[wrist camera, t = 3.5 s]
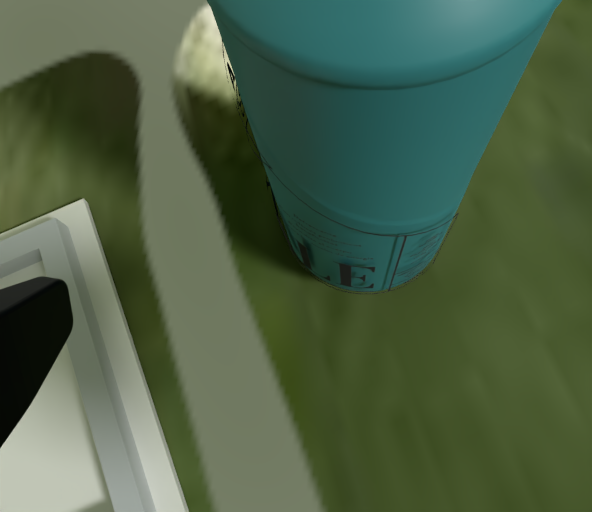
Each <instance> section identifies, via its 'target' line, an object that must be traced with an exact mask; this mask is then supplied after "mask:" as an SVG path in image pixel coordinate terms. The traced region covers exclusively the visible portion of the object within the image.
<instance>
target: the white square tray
mask: <svg viewBox="0 0 592 512" xmlns="http://www.w3.org/2000/svg"><path fill="white" fill-rule="evenodd" d="M40 276H44V277H51V278H57V279H62V280H63V281H65V282H66V284H67V286H68V290H69V296H70V302H71V307H72V313H73V328H72V331H71V334H70V336H69V337H68V339H67V341H66V343H65V345H64V346H63V348H62V350H61V352H60V354H59V355H58V357H57V359H56V361H55V363H54V364H53V366H52V368H51V370H50V371H49V373H48V375H47V377H46V379H45V380H44V382H43V384H42V386H41V388H40V389H39V391H38V393H37V395H36V396H35V398H34V400H33V401H32V403H31V405H30V406H29V408H28V409H27V411H26V412H25V414H24V415H23V417H22V418H21V420H20V421H19V423H18V424H17V425H16V427H15V428H14V430H13V431H12V433H11V434H10V435H9V437H8V438H7V440H6V441H5V442H4V444H3V445H2V447H1V448H0V512H189V510H188V507H187V504H186V501H185V498H184V495H183V492H182V489H181V486H180V483H179V480H178V477H177V474H176V471H175V468H174V465H173V461H172V458H171V455H170V452H169V449H168V446H167V443H166V440H165V437H164V434H163V431H162V428H161V425H160V422H159V419H158V416H157V413H156V410H155V407H154V404H153V400H152V397H151V394H150V391H149V388H148V385H147V382H146V379H145V376H144V373H143V370H142V367H141V364H140V361H139V358H138V355H137V352H136V349H135V346H134V343H133V339H132V336H131V333H130V330H129V327H128V324H127V321H126V318H125V315H124V312H123V309H122V306H121V303H120V300H119V297H118V294H117V291H116V288H115V285H114V282H113V278H112V275H111V272H110V269H109V266H108V263H107V260H106V257H105V254H104V251H103V248H102V245H101V242H100V239H99V236H98V233H97V230H96V227H95V224H94V221H93V217H92V214H91V211H90V208H89V205H88V202H87V201H86V200H84V199H81V200H79V201H76V202H74V203H72V204H69V205H67V206H65V207H62V208H60V209H58V210H55V211H53V212H51V213H48V214H46V215H44V216H41V217H39V218H37V219H34V220H32V221H30V222H27V223H25V224H23V225H20V226H18V227H16V228H13V229H11V230H9V231H6V232H4V233H1V234H0V289H3V288H6V287H9V286H12V285H15V284H18V283H21V282H24V281H27V280H30V279H33V278H36V277H40Z"/></svg>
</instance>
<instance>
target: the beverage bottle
mask: <svg viewBox="0 0 592 512" xmlns="http://www.w3.org/2000/svg"><path fill="white" fill-rule="evenodd" d="M561 1H562V0H207V2H208V4H209V5H210V7H211V9H212V11H213V14H214V17H215V20H216V23H217V26H218V29H219V32H220V34H221V37H222V45H223V43H224V46H225V49H226V52H227V54H228V57H229V60H230V63H231V66H232V69H233V72H234V75H235V76H234V75H233V73H232V70H231V68H230V66H229V64H228V62H227V66H228V70H229V74H230V77H231V74H232V77H233V81H232V77H231V81H232V84H233V88H234V82H235V80H236V92H237V86H238V93H240V94H239V97H240V96H241V101H240V104H239V106H241V103H242V105H243V106H244V109H245V112H246V115H247V122H248V121H249V124H250V127H251V129H252V132H253V135H254V138H255V141H256V144H257V147H258V148H257V147H256V145H255V144H254V145H255V147H256V148H257V150H258V151H259V155H260V156H261V159H262V160H261V159H260V157H258V156H257V157H258V158H259V159H260V160H261V161H262V162H263V164H264V167H265V170H266V173H267V176H268V179H269V182H267V178H266V182H267V188H268V186H271V191H272V196H273V201H274V205H275V209H276V212H277V214H276V216H277V219H278V220H279V219H281V218H282V219H283V222H284V225H285V228H286V231H287V234H288V237H289V240H290V242H291V244H290V242H289V240H288V238H287V236H286V233H285V231H284V229H283V227H282V225H281V222H280V220H279V221H278V222H279V225H280V226H281V227H280V228H282V230H283V231H282V232H283V233H284V236H285V238H286V239H287V242H288V244H289V246H290V248H291V250H292V251H291V252H293V253H294V254H295V253H296V254H297V256H298V257H299V258H298V257H297V256H296V257H297V258H298V259H300V260H301V261H302V263H303V264H304V265H305V266H306V267H307V268H308V269H309V270H310V271H311V272H312V273H311V274H313V275H314V274H315V275H316V276H318V277H319V278H320V280H324V282H327V283H328V284H330V285H334V286H337V287H339V288H343V289H346V290H351V291H357V292H374V291H381V290H385V289H388V291H392V290H390V288H392V287H395V286H397V285H400V284H402V283H403V284H404V282H405V283H406V281H407V282H409V280H411V278H412V277H413V278H415V277H414V276H415V275H417V274H418V273H419V272H420V271H422V270H423V269H425V267H426V266H427V264H428V263H429V262H430V261H431V260H432V258H433V257H434V255H435V254H436V253H437V252H438V251H437V250H438V248H439V246H440V244H441V242H442V240H443V238H444V236H445V234H446V232H447V230H448V227H449V225H450V223H451V221H452V219H453V218H454V217H455V216H456V215H458V214H456V215H455V213H456V211H457V208H458V206H459V204H460V202H461V200H462V198H463V196H464V194H465V191H466V189H467V187H468V184H469V182H470V179H471V176H472V174H473V172H474V170H475V168H476V166H477V164H478V162H479V160H480V158H481V156H482V154H483V152H484V150H485V148H486V146H487V144H488V142H489V140H490V138H491V136H492V134H493V132H494V130H495V128H496V126H497V124H498V122H499V120H500V118H501V116H502V114H503V112H504V110H505V108H506V106H507V104H508V102H509V100H510V98H511V96H512V94H513V92H514V90H515V88H516V86H517V84H518V82H519V80H520V78H521V76H522V74H523V72H524V70H525V68H526V66H527V64H528V62H529V60H530V58H531V56H532V54H533V52H534V50H535V48H536V46H537V44H538V42H539V40H540V38H541V36H542V34H543V32H544V30H545V28H546V26H547V24H548V22H549V20H550V18H551V16H552V14H553V12H554V10H555V8H556V7H557V6H558V5H559V4H560V2H561ZM223 56H224V51H223ZM224 62H225V61H224ZM225 67H226V66H225ZM230 72H231V73H230ZM226 73H227V71H226ZM227 78H228V76H227ZM228 82H229V81H228ZM234 91H235V88H234ZM233 99H234V98H233ZM237 99H238V97H237ZM238 103H239V102H237V104H238ZM235 105H236V104H235ZM236 108H237V107H236ZM238 109H239V108H238ZM238 109H237V110H238ZM241 111H242V110H241ZM239 115H240V114H239ZM242 115H243V117H244V113H242ZM240 117H241V116H240ZM242 122H243V121H242ZM247 122H246V127H245V126H244V127H245V128H246V132H248V131H247ZM243 124H244V123H243ZM248 134H249V133H248ZM249 136H250V135H249ZM247 137H248V136H247ZM250 138H251V137H250ZM251 139H252V138H251ZM248 141H249V140H248ZM252 141H253V140H252ZM253 143H254V142H253ZM251 148H252V147H251ZM252 150H253V149H252ZM253 152H254V151H253ZM254 153H255V152H254ZM255 154H256V153H255ZM274 196H275V198H274ZM275 199H276V202H277V205H278V208H279V211H280V214H281V215H280V214H279V215H280V218H278V213H279V212H278V209H277V207H276V202H275ZM276 212H275V213H276ZM454 215H455V216H454ZM281 216H282V217H281ZM455 219H456V218H455ZM454 221H455V220H454ZM453 223H454V222H453ZM452 225H453V224H452ZM451 227H452V226H451ZM450 229H451V228H450ZM449 231H450V230H449ZM448 233H449V232H448ZM447 235H448V234H447ZM446 237H447V236H446ZM445 239H446V238H445ZM444 241H445V240H444ZM443 243H444V242H443ZM291 245H292V246H291ZM442 245H443V244H442ZM287 246H288V245H287ZM292 247H293V248H292ZM441 247H442V246H441ZM290 248H289V249H290ZM293 249H294V250H293ZM440 249H441V248H440ZM294 251H295V252H294ZM439 251H440V250H439ZM438 253H439V252H438ZM296 254H295V255H296ZM437 255H438V254H437ZM294 257H295V256H294ZM436 257H437V256H436ZM435 259H436V258H435ZM295 260H296V259H295ZM434 261H435V260H434ZM298 262H299V261H298ZM433 263H434V262H433ZM300 266H301V265H300ZM431 266H432V265H431ZM301 267H302V266H301ZM302 268H303V267H302ZM304 268H305V267H304ZM304 268H303V269H304ZM305 269H306V268H305ZM305 269H304V270H305ZM308 269H307V270H308ZM309 270H308V271H309ZM305 271H306V270H305ZM425 272H426V271H425ZM425 272H424V273H425ZM422 273H423V271H422ZM424 273H423V274H424ZM420 274H421V273H420ZM311 276H312V275H311ZM417 276H419V275H417ZM417 276H416V277H417ZM318 277H317V278H318ZM419 277H420V276H419ZM314 278H315V277H314ZM413 278H412V280H413ZM315 279H316V278H315ZM416 279H417V278H416ZM318 281H319V280H318ZM320 282H321V281H320ZM322 283H323V282H322ZM408 284H409V283H408ZM406 285H407V284H406ZM327 286H328V285H327ZM404 286H405V285H404ZM330 287H331V286H330ZM402 287H403V286H402ZM332 288H333V287H332ZM399 288H400V287H399ZM335 289H336V288H335ZM397 289H398V288H397ZM337 290H338V289H337ZM394 290H395V289H394ZM341 291H342V290H341ZM388 291H386V292H388ZM344 292H346V291H344ZM348 293H351V292H348ZM382 293H384V292H382ZM355 294H359V293H355ZM374 294H377V293H374Z"/></svg>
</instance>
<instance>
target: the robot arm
mask: <svg viewBox="0 0 592 512" xmlns="http://www.w3.org/2000/svg"><path fill="white" fill-rule="evenodd" d="M72 328H73V313H72V307H71V302H70V296H69V290H68V286H67V284H66V282H65V281H63V280H62V279H57V278H51V277H44V276H40V277H36V278H33V279H30V280H27V281H24V282H21V283H18V284H15V285H12V286H9V287H6V288H3V289H0V448H1V447H2V445H3V444H4V442H5V441H6V440H7V438H8V437H9V435H10V434H11V433H12V431H13V430H14V428H15V427H16V425H17V424H18V423H19V421H20V420H21V418H22V417H23V415H24V414H25V412H26V411H27V409H28V408H29V406H30V405H31V403H32V401H33V400H34V398H35V396H36V395H37V393H38V391H39V389H40V388H41V386H42V384H43V382H44V380H45V379H46V377H47V375H48V373H49V371H50V370H51V368H52V366H53V364H54V363H55V361H56V359H57V357H58V355H59V354H60V352H61V350H62V348H63V346H64V345H65V343H66V341H67V339H68V337H69V336H70V334H71V331H72Z"/></svg>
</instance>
